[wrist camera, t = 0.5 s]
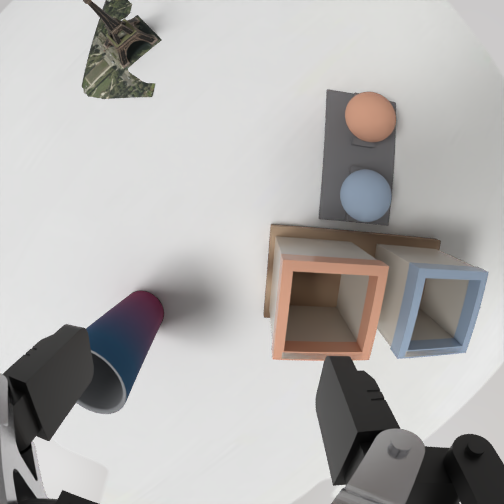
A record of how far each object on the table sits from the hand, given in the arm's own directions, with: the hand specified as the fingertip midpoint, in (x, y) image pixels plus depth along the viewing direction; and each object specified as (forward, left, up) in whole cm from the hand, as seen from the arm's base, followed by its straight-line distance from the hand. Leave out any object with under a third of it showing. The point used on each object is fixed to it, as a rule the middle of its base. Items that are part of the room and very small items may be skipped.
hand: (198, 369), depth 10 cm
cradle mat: (-9, +12, -24) cm, 29 cm away
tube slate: (+4, +19, -23) cm, 30 cm away
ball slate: (-5, +12, -24) cm, 28 cm away
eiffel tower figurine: (-22, -15, -25) cm, 37 cm away
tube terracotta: (+4, +8, -23) cm, 25 cm away
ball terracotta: (-13, +12, -24) cm, 30 cm away
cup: (+10, -11, -25) cm, 28 cm away
